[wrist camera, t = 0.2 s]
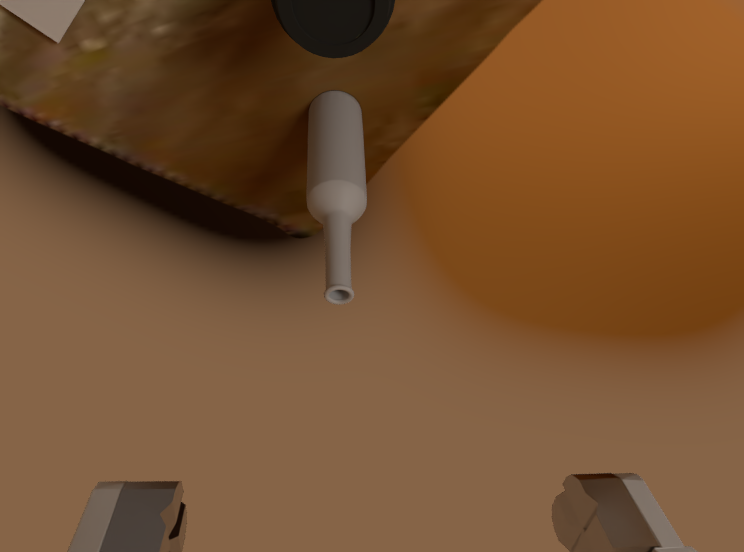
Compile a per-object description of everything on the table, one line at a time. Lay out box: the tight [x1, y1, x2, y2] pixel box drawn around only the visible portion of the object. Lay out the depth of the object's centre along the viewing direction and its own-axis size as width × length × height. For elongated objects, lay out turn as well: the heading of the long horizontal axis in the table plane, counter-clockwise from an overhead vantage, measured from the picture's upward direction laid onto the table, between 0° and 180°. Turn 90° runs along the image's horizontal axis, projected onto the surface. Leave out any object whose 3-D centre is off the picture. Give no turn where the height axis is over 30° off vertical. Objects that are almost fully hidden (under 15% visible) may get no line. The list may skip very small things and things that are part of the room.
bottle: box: [307, 90, 367, 304], centre depth 54 cm, size 7×7×28 cm
